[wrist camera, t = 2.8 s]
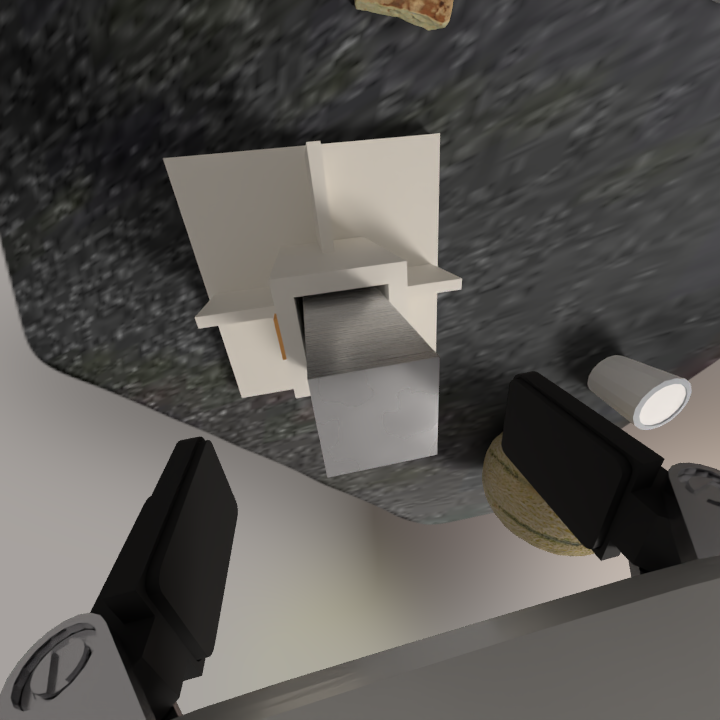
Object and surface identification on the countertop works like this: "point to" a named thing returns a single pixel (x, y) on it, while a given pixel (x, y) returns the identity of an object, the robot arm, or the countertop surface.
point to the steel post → (369, 381)
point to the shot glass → (639, 391)
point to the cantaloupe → (524, 506)
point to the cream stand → (309, 242)
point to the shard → (412, 11)
